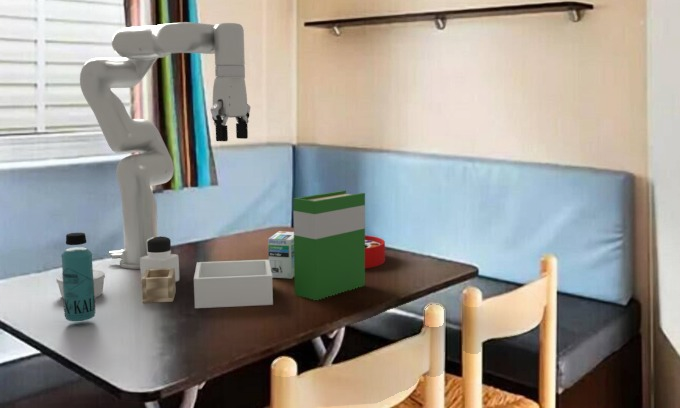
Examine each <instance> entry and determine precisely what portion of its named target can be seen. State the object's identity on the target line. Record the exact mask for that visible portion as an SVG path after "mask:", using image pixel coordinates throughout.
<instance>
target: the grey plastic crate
mask: <svg viewBox="0 0 680 408" xmlns="http://www.w3.org/2000/svg"><path fill="white" fill-rule="evenodd" d="M194 271H195V272H194V276H193V294H194V295H193V296H194V309H207V308H208V309H209V308H210V309H212V308H229V307H233V308H235V307H250V306H251V307H252V306H270V305H271V306H273V305H274V299H273V298H274V297H273V296H274V293H273V278H272V272H271V267H270V263H269V259H249V260H247V259H246V260H245V259H244V260H228V261H227V260H224V261H223V260H222V261H221V260H220V261H199V262H198V261H196V266H195V270H194Z"/></svg>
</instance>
